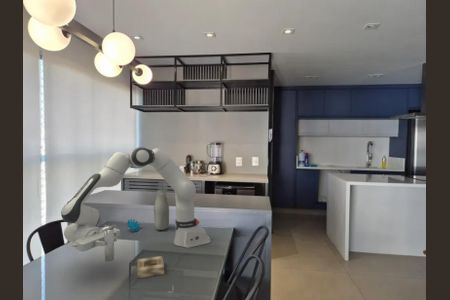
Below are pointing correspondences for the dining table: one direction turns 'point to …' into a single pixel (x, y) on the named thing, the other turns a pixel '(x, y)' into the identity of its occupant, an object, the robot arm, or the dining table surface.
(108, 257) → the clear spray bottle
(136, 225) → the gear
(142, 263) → the socket block
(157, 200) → the glass bottle
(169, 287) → the dining table surface
